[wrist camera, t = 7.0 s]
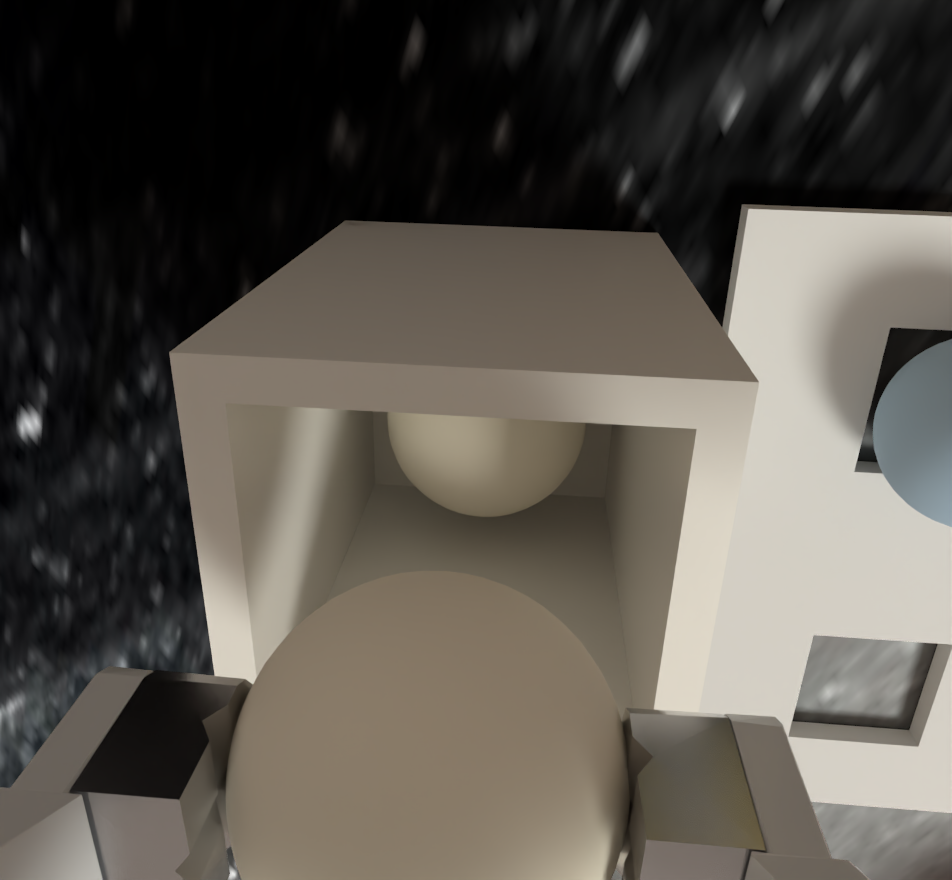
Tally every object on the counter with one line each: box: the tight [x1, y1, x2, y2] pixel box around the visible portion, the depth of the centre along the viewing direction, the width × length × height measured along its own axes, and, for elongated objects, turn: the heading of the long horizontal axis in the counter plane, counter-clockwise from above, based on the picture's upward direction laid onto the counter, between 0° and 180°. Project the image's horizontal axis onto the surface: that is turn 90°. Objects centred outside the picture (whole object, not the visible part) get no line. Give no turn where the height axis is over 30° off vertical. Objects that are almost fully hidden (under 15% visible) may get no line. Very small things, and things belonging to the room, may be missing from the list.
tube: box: [169, 220, 759, 721], centre depth 15 cm, size 7×7×9 cm
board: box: [699, 204, 952, 813], centre depth 19 cm, size 16×10×1 cm, turn 179°
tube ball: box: [387, 412, 586, 517], centre depth 16 cm, size 4×4×4 cm
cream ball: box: [226, 571, 630, 880], centre depth 8 cm, size 4×4×4 cm
